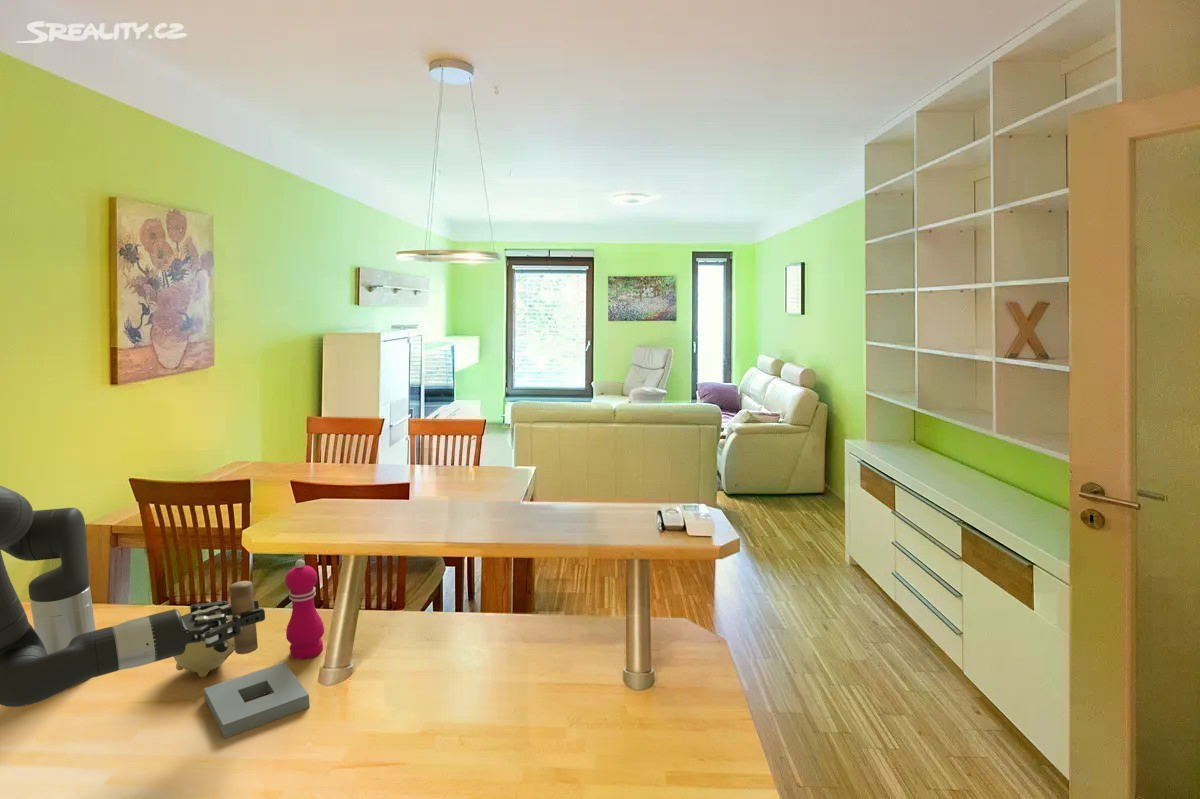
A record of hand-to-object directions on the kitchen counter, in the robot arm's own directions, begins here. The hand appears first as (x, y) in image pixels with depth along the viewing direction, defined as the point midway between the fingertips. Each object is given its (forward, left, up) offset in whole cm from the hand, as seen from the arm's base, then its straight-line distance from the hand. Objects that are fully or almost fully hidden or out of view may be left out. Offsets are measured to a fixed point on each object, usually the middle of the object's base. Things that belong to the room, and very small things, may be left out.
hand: (260, 609), depth 129 cm
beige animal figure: (-18, -6, -18) cm, 27 cm away
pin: (0, -3, -7) cm, 7 cm away
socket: (0, -2, -18) cm, 18 cm away
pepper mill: (-13, +11, -18) cm, 25 cm away
